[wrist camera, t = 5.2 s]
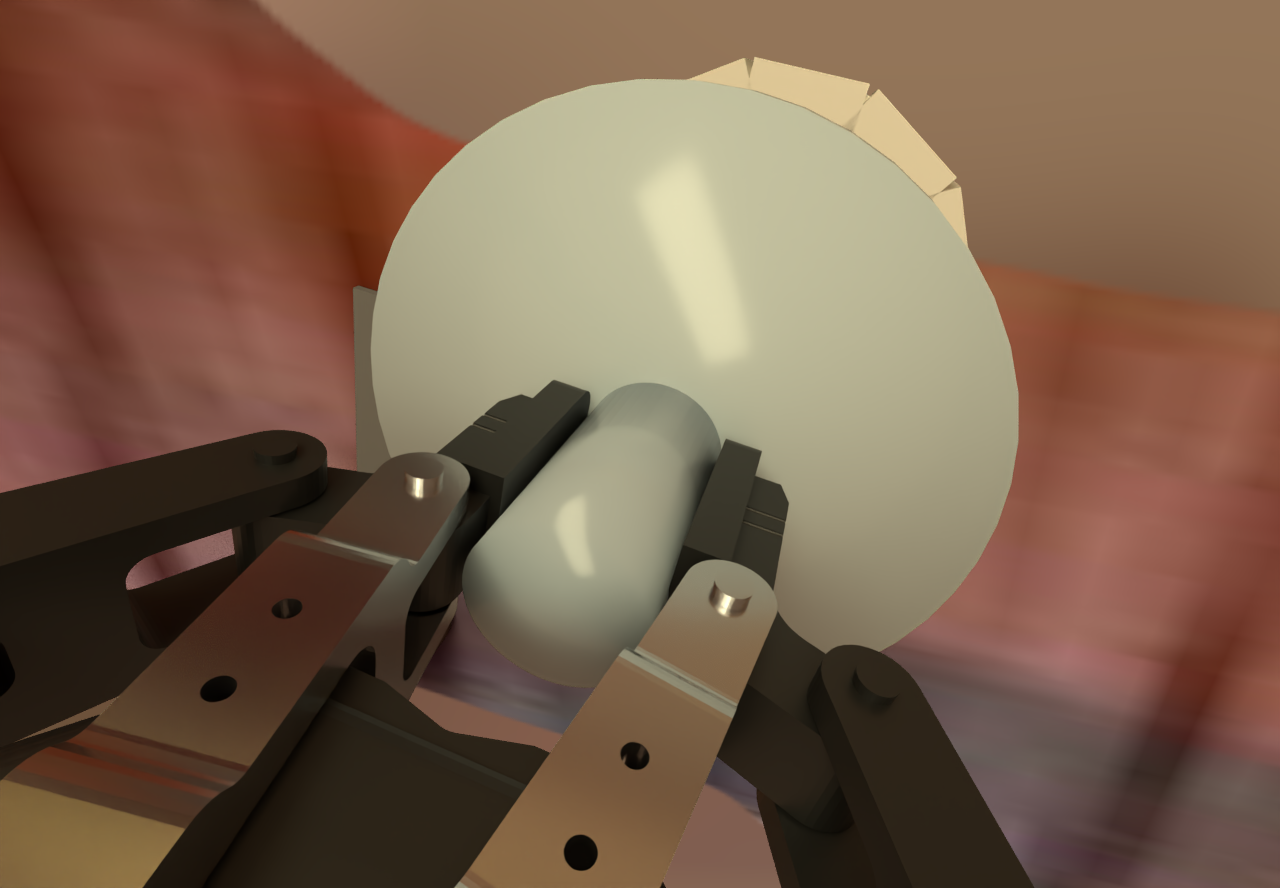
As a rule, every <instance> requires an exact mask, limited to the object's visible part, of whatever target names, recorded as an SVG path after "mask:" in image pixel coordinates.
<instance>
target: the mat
mask: <svg viewBox="0 0 1280 888" xmlns="http://www.w3.org/2000/svg"><path fill="white" fill-rule="evenodd" d="M376 297H377V291H374V290H371V289H368V288H364V287H361V286H356V287H354V288H353V304H354V352H355V399H356V446H357V471H359V472H366V473H375V472H376V471H377V469H378V468H379V467H380V466H381V465H382V464H383V463H385V462H386V461H388V460H389V459H391V457H390V454H389V452H388V448H387V445H386V442H385V438H384V435H383V431H382V428H381V425H380V421H379V417H378V412H377V406H376V401H375V395H374V389H373V381H372V364H371V337H372V322H373V312H374V307H375V302H376Z"/></svg>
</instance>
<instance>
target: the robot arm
mask: <svg viewBox="0 0 1280 888" xmlns="http://www.w3.org/2000/svg"><path fill="white" fill-rule="evenodd" d="M590 397H591V396H590V392H589V391H586V390H583V389H580V388H577V387H574V386H571V385H569V384H566V383H563V382H560V381H557V380H552V381H551V382H550V383H549V384H548V385H547V386H546V387H544V388H543V389H542V390H541V391H540V392H539V393H538V394H537V395H536V396H534V397H533V398H531V397H528V396H525V395H522V394H520V395H517V396H514V397H511V398H507V399H504V400H501V401H499V402H497V403H496V404H495V405H494V406H493V407H491V408H490V409H489V410H488V411H487V412H485V415H484V416H483V415H482V416H481V417H479V418H478V419H477V420H476V421H475V422H473V425H470V426H468V427H467V428H466V429H465V430H464V431H462V432H461V433H460V434H459V435H458V436H456V437H455V438H454V439H453V440H452V441H450V442H449V443H448V444H447V445H446V446H444V447H443V448H442V449H441V450H439V451H438V452H437V453H429V452H414V453H407V454H402V455H399V456H396V457H393V458H391V459H389V460H388V461H386V462H385V463H383V464H382V465H381V466H380V467H379V468H378V469H377V471H376V472H375V473H366V472H359V471H352V470H345V469H338V468H331V467H327V450H326V448H325V446H324V445H323V443H322V442H321V441H319V440H318V439H316V438H315V437H313V436H310V435H308V434H305V433H301V432H296V431H288V430H271V431H263V432H257V433H253V434H249V435H244V436H240V437H236V438H232V439H227V440H223V441H219V442H215V443H211V444H206V445H202V446H198V447H194V448H189V449H185V450H181V451H177V452H172V453H168V454H164V455H160V456H156V457H151V458H147V459H143V460H139V461H134V462H130V463H126V464H122V465H117V466H113V467H109V468H105V469H101V470H96V471H92V472H88V473H84V474H79V475H75V476H71V477H67V478H63V479H58V480H54V481H50V482H46V483H41V484H37V485H33V486H29V487H24V488H20V489H16V490H12V491H8V492H3V493H0V888H666V887H665V885H664V883H663V879H664V877H665V875H666V873H667V870H668V868H669V866H670V863H671V861H672V859H673V856H674V854H675V852H676V849H677V847H678V844H679V842H680V840H681V838H682V835H683V833H684V830H685V828H686V826H687V823H688V821H689V819H690V817H691V814H692V812H693V810H694V807H695V805H696V803H697V800H698V798H699V796H700V793H701V791H702V789H703V786H704V784H705V782H706V779H707V777H708V775H709V772H710V770H711V768H712V765H713V763H714V761H715V758H716V756H717V757H718V758H720V759H721V760H722V761H723V762H725V763H726V764H727V765H728V766H730V767H731V768H732V769H733V770H735V771H736V772H737V773H738V774H740V775H741V776H742V777H743V778H745V779H746V780H747V781H748V782H750V783H751V784H752V785H753V786H755V787H756V788H757V802H758V807H759V810H760V814H761V817H762V821H763V824H764V828H765V831H766V835H767V838H768V842H769V846H770V849H771V853H772V856H773V860H774V863H775V867H776V870H777V874H778V877H779V881H780V884H781V888H1034V886H1033V884H1032V883H1031V881H1030V879H1029V877H1028V876H1027V874H1026V872H1025V870H1024V869H1023V867H1022V865H1021V864H1020V862H1019V860H1018V858H1017V857H1016V855H1015V853H1014V851H1013V850H1012V848H1011V846H1010V844H1009V843H1008V841H1007V839H1006V837H1005V836H1004V834H1003V832H1002V830H1001V829H1000V827H999V825H998V823H997V822H996V820H995V818H994V817H993V815H992V813H991V811H990V810H989V808H988V806H987V804H986V803H985V801H984V799H983V797H982V796H981V794H980V792H979V790H978V789H977V787H976V785H975V783H974V782H973V780H972V778H971V776H970V775H969V773H968V771H967V770H966V768H965V766H964V764H963V763H962V761H961V759H960V757H959V756H958V754H957V752H956V750H955V749H954V747H953V745H952V743H951V742H950V740H949V738H948V736H947V735H946V733H945V731H944V729H943V728H942V726H941V724H940V723H939V721H938V719H937V717H936V716H935V714H934V712H933V710H932V709H931V707H930V705H929V703H928V702H927V700H926V698H925V696H924V695H923V693H922V691H921V689H920V688H919V686H918V685H917V683H916V682H915V680H914V679H913V678H912V677H911V676H910V674H909V673H908V672H907V671H906V670H905V669H904V668H902V667H901V666H900V665H899V664H898V663H896V662H895V661H894V660H892V659H891V658H889V657H887V656H886V655H884V654H882V653H880V652H878V651H876V650H873V649H871V648H868V647H864V646H860V645H841V646H837V647H835V648H833V649H831V650H830V651H829V652H827V654H825V653H824V652H822V651H821V650H819V649H818V648H816V647H815V646H813V645H812V644H810V643H809V642H807V641H806V640H804V639H803V638H802V637H800V636H799V635H798V634H797V633H796V632H794V631H793V630H792V629H791V628H790V627H789V626H788V625H787V623H786V622H785V621H784V620H783V618H782V617H781V615H780V614H779V612H778V603H777V599H776V596H775V594H774V585H775V579H776V574H777V568H778V562H779V557H780V551H781V546H782V540H783V538H782V537H783V534H784V529H785V522H786V518H787V512H788V507H789V502H788V500H787V497H786V495H785V493H784V491H783V488H782V486H781V485H780V484H777V483H775V482H772V481H769V480H766V479H763V478H760V477H757V476H755V475H756V471H757V468H758V464H759V461H760V457H761V454H762V451H761V450H758V449H755V448H752V447H749V446H746V445H743V444H741V443H738V442H735V441H732V440H729V439H725V442H724V444H723V447H722V449H721V452H720V454H719V457H718V459H717V462H716V464H715V467H714V469H713V471H712V474H711V476H710V479H709V481H708V484H707V486H706V489H705V491H704V494H703V496H702V499H701V501H700V504H699V506H698V509H697V511H696V514H695V516H694V519H693V521H692V524H691V526H690V529H689V531H688V534H687V536H686V539H685V541H684V543H683V546H682V549H681V552H680V555H679V558H678V562H677V565H676V568H675V571H674V574H673V577H672V580H671V583H670V586H669V596H668V601H667V603H666V604H665V606H664V607H663V609H662V610H661V612H660V613H659V615H658V616H657V618H656V619H655V621H654V622H653V624H652V625H651V627H650V628H649V630H648V631H647V633H646V634H645V636H644V637H643V638H642V640H641V641H640V643H639V644H638V646H637V647H636V649H635V650H632V649H630V648H628V647H627V648H625V649H624V650H623V651H622V652H621V653H620V654H619V655H618V657H617V658H616V659H615V661H614V662H613V664H612V665H611V667H610V668H609V669H608V671H607V672H606V674H605V675H604V677H603V678H602V679H601V681H600V682H599V684H598V685H597V687H596V688H595V689H594V691H593V692H592V694H591V695H590V697H589V698H588V699H587V701H586V702H585V704H584V705H583V707H582V708H581V709H580V711H579V712H578V714H577V715H576V717H575V718H574V720H573V721H572V722H571V724H570V725H569V727H568V728H567V730H566V731H565V732H564V734H563V735H562V737H561V738H560V740H559V741H558V742H557V744H556V745H555V747H554V748H553V750H552V751H551V752H550V753H549V752H547V751H545V750H542V749H540V748H538V747H535V746H531V745H525V744H519V743H513V742H507V741H500V740H495V739H489V738H483V737H477V736H471V735H465V734H458V733H453V732H450V731H447V730H445V729H443V728H442V727H440V726H439V725H438V724H437V723H435V722H434V721H433V720H432V719H430V718H429V717H428V716H427V715H425V714H424V713H423V712H422V711H421V710H419V709H418V708H417V707H415V706H414V705H413V704H412V703H411V702H409V699H410V697H411V695H412V693H413V691H414V689H415V687H416V686H417V684H418V682H419V680H420V678H421V676H422V674H423V673H424V671H425V669H426V667H427V665H428V663H429V661H430V659H431V658H432V656H433V654H434V652H435V650H436V648H437V646H438V645H439V643H440V641H441V639H442V637H443V635H444V633H445V631H446V630H447V628H448V626H449V624H450V622H451V620H452V618H453V617H454V615H455V612H456V610H457V603H458V595H459V594H460V593H461V592H462V591H463V587H462V574H463V569H464V564H465V562H466V559H467V557H468V555H469V553H470V552H471V550H472V548H473V547H474V546H475V545H476V544H477V543H478V541H479V540H480V539H481V538H482V537H483V536H484V535H485V533H486V532H487V531H488V530H489V529H490V528H491V527H492V525H493V524H494V523H495V522H496V521H497V520H498V519H499V517H500V516H501V515H502V514H503V513H504V512H505V510H506V509H507V508H508V507H509V506H510V505H511V504H512V502H513V501H514V500H515V499H516V498H517V497H518V496H519V494H520V493H521V492H522V491H523V490H524V489H525V488H526V486H527V485H528V484H529V483H530V482H531V481H532V479H533V478H534V477H535V476H536V475H537V474H538V473H539V471H540V470H541V469H542V468H543V467H544V466H545V465H546V463H547V462H548V461H549V460H550V459H551V458H552V457H553V455H554V454H555V453H556V452H557V451H558V450H559V449H560V447H561V446H562V445H563V444H564V443H565V442H566V440H567V439H568V438H569V437H570V436H571V435H572V434H573V432H574V431H575V430H576V429H577V428H578V427H579V426H580V424H581V423H582V422H583V421H584V420H585V419H586V418H587V416H588V411H589V406H590ZM229 529H232V535H233V543H234V550H235V554H234V555H231V556H228V557H225V558H222V559H219V560H217V561H214V562H211V563H208V564H205V565H202V566H199V567H197V568H194V569H191V570H188V571H185V572H182V573H180V574H177V575H174V576H171V577H168V578H165V579H163V580H160V581H157V582H154V583H151V584H148V585H145V586H143V587H140V588H136V589H132V590H127V589H126V577H127V575H128V573H129V571H130V570H131V569H132V568H133V567H134V565H136V564H137V563H138V562H139V561H141V560H142V559H144V558H146V557H148V556H150V555H152V554H155V553H158V552H161V551H164V550H167V549H170V548H173V547H177V546H180V545H183V544H186V543H189V542H192V541H195V540H198V539H201V538H204V537H207V536H210V535H213V534H216V533H220V532H223V531H226V530H229ZM117 696H118V697H117ZM115 697H117V698H116V699H115V700H114V701H113V702H112V704H110V705H109V706H108V707H107V708H106V709H105V711H103V712H102V713H101V714H100V715H97V716H94V717H91V718H88V719H85V720H81V721H78V722H75V723H73V724H69V725H66V726H63V727H60V728H57V729H54V730H51V731H48V732H45V733H42V734H38V735H35V736H32V737H29V738H26V739H23V740H20V739H22V738H24V737H27V736H29V735H31V734H33V733H36V732H38V731H40V730H42V729H45V728H47V727H49V726H51V725H54V724H56V723H58V722H61V721H63V720H65V719H67V718H69V717H72V716H74V715H76V714H79V713H81V712H83V711H85V710H88V709H90V708H92V707H94V706H97V705H99V704H101V703H103V702H106V701H108V700H110V699H113V698H115ZM18 740H20V741H18ZM15 741H17V742H15ZM13 742H14V743H13Z"/></svg>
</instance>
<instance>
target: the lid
mask: <svg viewBox="0 0 1280 888" xmlns="http://www.w3.org/2000/svg"><path fill="white" fill-rule="evenodd" d="M371 364H372V381H373V389H374V395H375V401H376V406H377V412H378V417H379V421H380V425H381V428H382V431H383V435H384V438H385V442H386V445H387V448H388V452H389V454H390V457H391V458H393V457H396V456H399V455H402V454H407V453H414V452H429V453H437V452H438V451H439V450H441V449H442V448H443V447H444V446H446V445H447V444H448V443H449V442H450V441H452V440H453V439H454V438H455V437H456V436H458V435H459V434H460V433H461V432H462V431H464V430H465V429H466V428H467V427H468V426H470V425H473V422H475V421H476V420H477V419H478V418H479V417H481V416H482V415H483V416H484V415H485V412H487V411H488V410H489V409H490V408H491V407H493V406H494V405H495V404H496V403H497V402H499V401H501V400H504V399H507V398H511V397H514V396H517V395H520V394H522V395H525V396H528V397H531V398H533V397H534V396H536V395H537V394H538V393H539V392H540V391H541V390H542V389H543V388H544V387H546V386H547V385H548V384H549V383H550V382H551V381H552V380H557V381H560V382H563V383H566V384H569V385H571V386H574V387H577V388H580V389H583V390H586V391H589V392H590V396H591V397H590V406H589V411H588V416H587V418H586V419H585V420H584V421H583V422H582V423H581V424H580V426H579V427H578V428H577V429H576V430H575V431H574V432H573V434H572V435H571V436H570V437H569V438H568V439H567V440H566V442H565V443H564V444H563V445H562V446H561V447H560V449H559V450H558V451H557V452H556V453H555V454H554V455H553V457H552V458H551V459H550V460H549V461H548V462H547V463H546V465H545V466H544V467H543V468H542V469H541V470H540V471H539V473H538V474H537V475H536V476H535V477H534V478H533V479H532V481H531V482H530V483H529V484H528V485H527V486H526V488H525V489H524V490H523V491H522V492H521V493H520V494H519V496H518V497H517V498H516V499H515V500H514V501H513V502H512V504H511V505H510V506H509V507H508V508H507V509H506V510H505V512H504V513H503V514H502V515H501V516H500V517H499V519H498V520H497V521H496V522H495V523H494V524H493V525H492V527H491V528H490V529H489V530H488V531H487V532H486V533H485V535H484V536H483V537H482V538H481V539H480V540H479V541H478V543H477V544H476V545H475V546H474V547H473V548H472V550H471V552H470V553H469V555H468V557H467V559H466V562H465V564H464V569H463V574H462V587H463V595H464V598H465V602H466V605H467V608H468V610H469V613H470V615H471V617H472V619H473V621H474V622H475V624H476V626H477V627H478V629H479V630H480V632H481V633H482V634H483V636H484V637H485V638H486V639H487V640H488V642H489V643H490V644H491V645H492V646H493V647H494V648H495V649H496V650H497V651H498V652H499V653H501V654H502V655H503V656H504V657H506V658H507V659H508V660H509V661H511V662H512V663H514V664H515V665H517V666H518V667H520V668H521V669H523V670H525V671H527V672H528V673H530V674H533V675H535V676H537V677H539V678H542V679H544V680H547V681H550V682H553V683H557V684H560V685H565V686H571V687H581V688H592V687H597V685H598V684H599V682H600V681H601V679H602V678H603V677H604V675H605V674H606V672H607V671H608V669H609V668H610V667H611V665H612V664H613V662H614V661H615V659H616V658H617V657H618V655H619V654H620V653H621V652H622V651H623V650H624V649H625V648H627V647H628V648H630V649H632V650H635V649H636V647H637V646H638V644H639V643H640V641H641V640H642V638H643V637H644V636H645V634H646V633H647V631H648V630H649V628H650V627H651V625H652V624H653V622H654V621H655V619H656V618H657V616H658V615H659V613H660V612H661V610H662V609H663V607H664V606H665V604H666V603H667V601H668V596H669V586H670V583H671V580H672V577H673V574H674V571H675V568H676V565H677V562H678V558H679V555H680V552H681V549H682V546H683V543H684V541H685V539H686V536H687V534H688V531H689V529H690V526H691V524H692V521H693V519H694V516H695V514H696V511H697V509H698V506H699V504H700V501H701V499H702V496H703V494H704V491H705V489H706V486H707V484H708V481H709V479H710V476H711V474H712V471H713V469H714V467H715V464H716V462H717V459H718V457H719V454H720V452H721V449H722V447H723V444H724V442H725V439H729V440H732V441H735V442H738V443H741V444H743V445H746V446H749V447H752V448H755V449H758V450H761V451H762V454H761V457H760V461H759V464H758V468H757V471H756V475H755V476H757V477H760V478H763V479H766V480H769V481H772V482H775V483H777V484H780V485H781V486H782V488H783V491H784V493H785V495H786V497H787V500H788V502H789V507H788V512H787V518H786V522H785V529H784V534H783V537H782V538H783V540H782V546H781V551H780V557H779V562H778V568H777V574H776V579H775V585H774V594H775V596H776V599H777V603H778V612H779V614H780V615H781V617H782V618H783V620H784V621H785V622H786V623H787V625H788V626H789V627H790V628H791V629H792V630H793V631H794V632H796V633H797V634H798V635H799V636H800V637H802V638H803V639H804V640H806V641H807V642H809V643H810V644H812V645H813V646H815V647H816V648H818V649H819V650H821V651H822V652H824V653H825V654H827V652H829V651H830V650H831V649H833V648H835V647H837V646H841V645H860V646H864V647H868V648H871V649H873V650H876V651H878V652H880V651H882V650H883V649H885V648H887V647H889V646H891V645H892V644H894V643H896V642H898V641H899V640H900V639H902V638H903V637H904V636H906V635H907V634H908V633H910V632H911V631H912V630H914V629H915V628H917V627H918V626H919V625H921V624H922V623H923V622H925V621H926V620H927V619H928V618H929V617H930V616H931V615H932V614H933V613H934V612H935V611H936V610H937V609H938V608H939V607H940V606H941V605H942V604H943V603H944V602H945V601H946V600H947V599H948V598H949V597H950V596H951V595H952V594H953V593H954V592H955V591H956V590H957V589H958V587H959V586H960V584H961V583H962V582H963V580H964V579H965V578H966V576H967V575H968V574H969V572H970V571H971V570H972V568H973V567H974V566H975V564H976V563H977V562H978V560H979V558H980V556H981V555H982V553H983V551H984V549H985V547H986V545H987V543H988V541H989V539H990V538H991V536H992V534H993V532H994V530H995V528H996V526H997V524H998V521H999V518H1000V515H1001V512H1002V509H1003V507H1004V504H1005V501H1006V498H1007V495H1008V492H1009V489H1010V486H1011V482H1012V476H1013V470H1014V464H1015V458H1016V452H1017V446H1018V389H1017V383H1016V376H1015V370H1014V364H1013V358H1012V352H1011V346H1010V343H1009V340H1008V337H1007V334H1006V331H1005V328H1004V325H1003V322H1002V319H1001V316H1000V313H999V310H998V307H997V304H996V301H995V298H994V296H993V294H992V292H991V290H990V289H989V287H988V285H987V283H986V281H985V279H984V277H983V275H982V273H981V271H980V269H979V267H978V266H977V264H976V262H975V260H974V258H973V256H972V254H971V252H970V250H969V249H968V248H967V246H966V245H965V244H964V242H963V241H962V239H961V238H960V237H959V235H958V234H957V233H956V231H955V230H954V229H953V227H952V226H951V225H950V223H949V222H948V221H947V219H946V218H945V217H944V215H943V214H942V212H941V211H940V210H939V208H938V207H937V206H936V204H935V203H934V202H933V200H932V199H931V198H930V197H929V196H928V195H927V194H926V193H925V192H924V191H923V190H922V189H921V188H920V187H919V186H918V185H917V184H916V183H915V182H914V181H913V180H912V179H911V178H910V177H909V176H908V175H907V174H906V173H905V172H904V171H903V170H902V169H901V168H900V167H899V166H898V165H897V164H896V163H895V162H894V161H892V160H891V159H889V158H888V157H887V156H885V155H884V154H883V153H881V152H880V151H878V150H877V149H876V148H874V147H873V146H872V145H870V144H869V143H867V142H866V141H865V140H863V139H862V138H861V137H859V136H858V135H856V134H855V133H854V132H852V131H850V130H848V129H847V128H845V127H843V126H841V125H839V124H837V123H835V122H833V121H831V120H829V119H827V118H825V117H823V116H821V115H819V114H818V113H816V112H814V111H812V110H810V109H808V108H806V107H803V106H800V105H797V104H794V103H791V102H788V101H785V100H783V99H780V98H777V97H774V96H771V95H768V94H765V93H762V92H759V91H755V90H750V89H744V88H738V87H733V86H727V85H722V84H716V83H710V82H704V81H696V80H663V79H637V80H630V81H622V82H616V83H607V84H600V85H593V86H588V87H585V88H582V89H578V90H575V91H571V92H568V93H565V94H562V95H558V96H555V97H551V98H549V99H545V100H542V101H540V102H538V103H536V104H534V105H532V106H530V107H528V108H526V109H524V110H522V111H520V112H518V113H516V114H513V115H511V116H509V117H507V118H505V119H503V120H502V121H500V122H499V123H497V124H496V125H494V126H493V127H491V128H490V129H489V130H487V131H486V132H484V133H483V134H482V135H480V136H479V137H477V138H476V139H474V140H473V141H472V142H470V143H469V144H467V145H466V146H465V147H464V148H463V149H462V150H461V151H460V152H459V153H458V154H457V155H456V156H455V157H454V158H453V159H451V160H450V161H449V162H448V163H447V164H446V165H445V166H444V167H443V168H442V169H441V170H440V171H439V172H438V173H437V174H436V175H435V176H434V178H433V179H432V181H431V182H430V183H429V185H428V186H427V187H426V189H425V190H424V191H423V193H422V194H421V195H420V197H419V198H418V199H417V201H416V202H415V203H414V205H413V206H412V207H411V209H410V211H409V213H408V215H407V217H406V219H405V220H404V222H403V224H402V226H401V228H400V230H399V232H398V234H397V235H396V237H395V239H394V241H393V244H392V246H391V249H390V252H389V255H388V258H387V260H386V263H385V266H384V269H383V272H382V275H381V277H380V282H379V287H378V292H377V297H376V302H375V307H374V312H373V322H372V337H371Z"/></svg>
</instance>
